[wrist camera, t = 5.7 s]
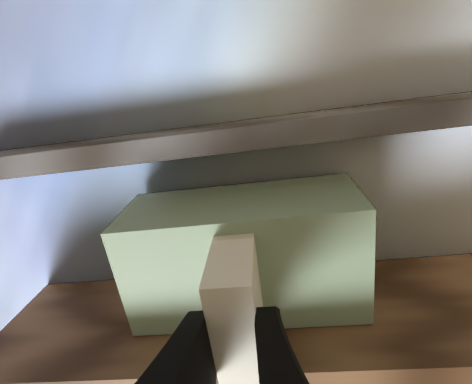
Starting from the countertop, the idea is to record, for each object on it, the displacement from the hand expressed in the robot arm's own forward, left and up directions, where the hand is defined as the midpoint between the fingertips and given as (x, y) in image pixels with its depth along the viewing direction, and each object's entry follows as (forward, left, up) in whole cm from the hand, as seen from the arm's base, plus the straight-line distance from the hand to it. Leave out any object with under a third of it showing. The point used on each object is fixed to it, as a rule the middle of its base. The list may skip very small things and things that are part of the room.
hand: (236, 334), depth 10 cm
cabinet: (0, 0, -7) cm, 7 cm away
